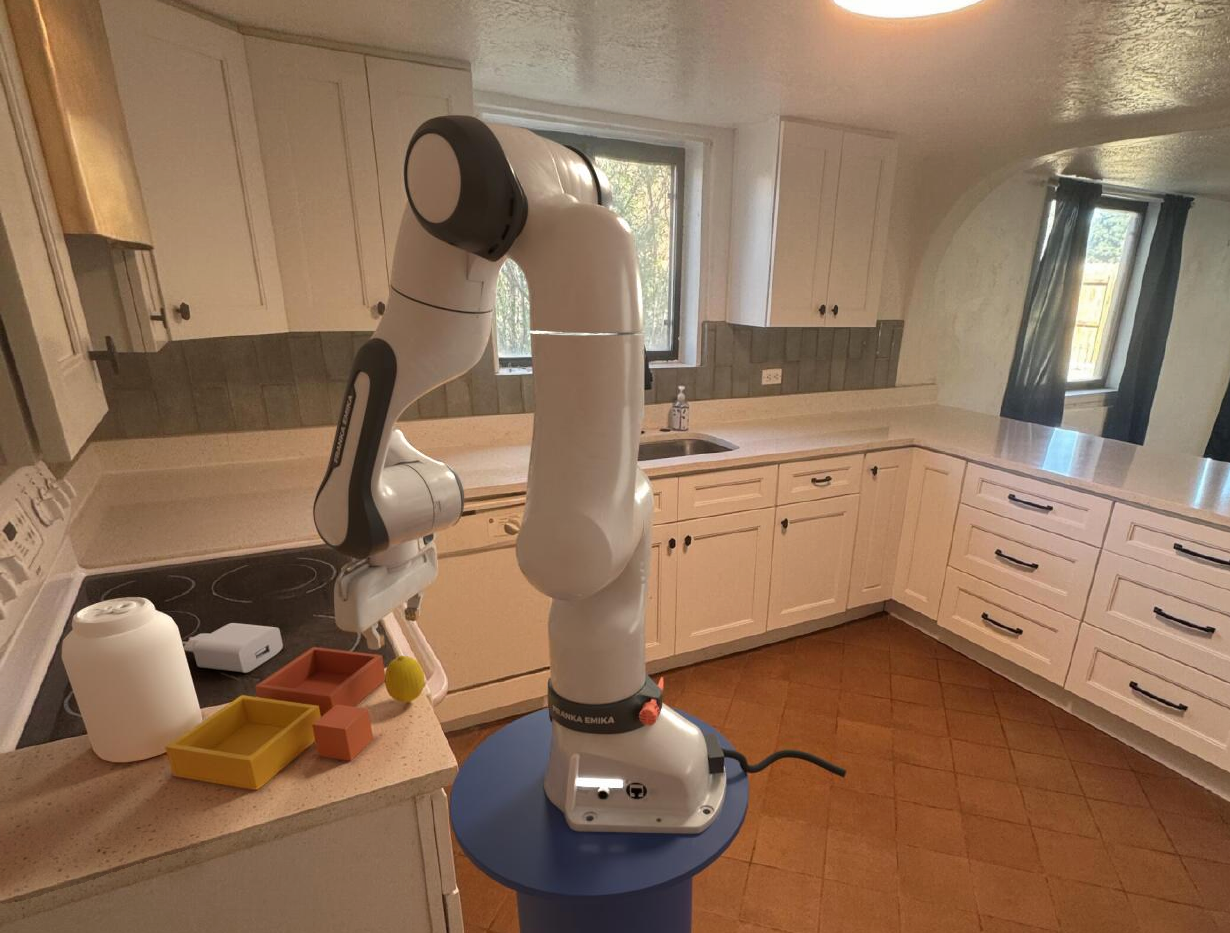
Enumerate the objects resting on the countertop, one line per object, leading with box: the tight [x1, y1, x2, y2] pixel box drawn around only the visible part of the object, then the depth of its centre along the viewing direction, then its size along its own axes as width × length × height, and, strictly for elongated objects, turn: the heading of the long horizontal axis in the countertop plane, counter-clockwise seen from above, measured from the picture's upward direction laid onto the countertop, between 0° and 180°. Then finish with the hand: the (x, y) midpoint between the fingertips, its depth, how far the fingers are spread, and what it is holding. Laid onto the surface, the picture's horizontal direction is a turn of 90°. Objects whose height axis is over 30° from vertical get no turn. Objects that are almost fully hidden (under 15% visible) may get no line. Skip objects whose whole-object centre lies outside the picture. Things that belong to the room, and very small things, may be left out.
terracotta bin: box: [254, 646, 386, 717], centre depth 107 cm, size 13×13×4 cm
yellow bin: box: [165, 694, 321, 791], centre depth 93 cm, size 13×13×4 cm
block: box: [312, 705, 374, 762], centre depth 94 cm, size 5×5×5 cm
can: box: [61, 596, 204, 763], centre depth 93 cm, size 12×12×20 cm
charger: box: [182, 622, 284, 674], centre depth 118 cm, size 5×9×15 cm
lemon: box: [384, 655, 425, 704], centre depth 104 cm, size 6×6×8 cm
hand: (395, 632), depth 102 cm, fingers open, 8 cm apart
